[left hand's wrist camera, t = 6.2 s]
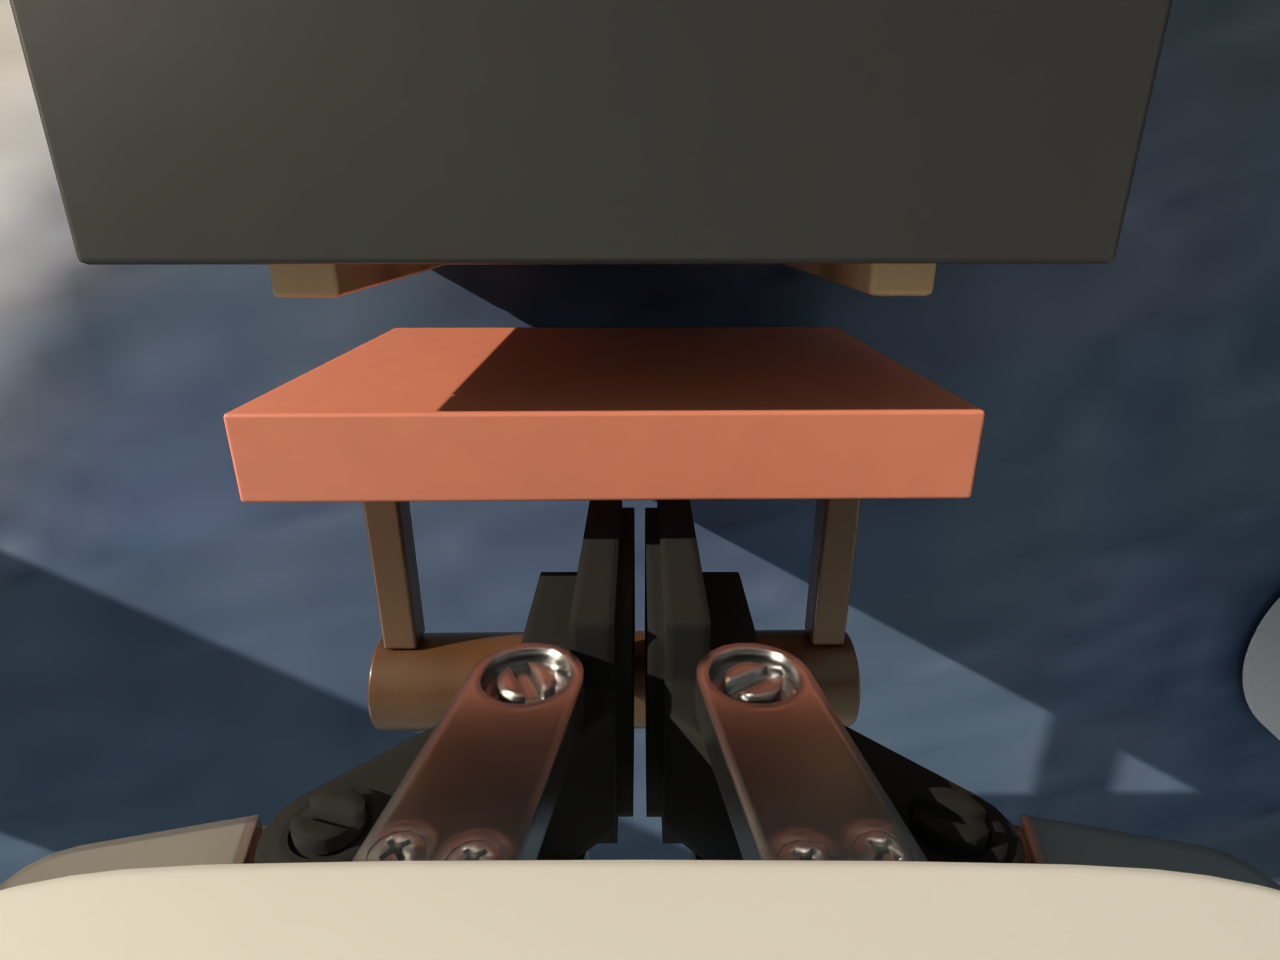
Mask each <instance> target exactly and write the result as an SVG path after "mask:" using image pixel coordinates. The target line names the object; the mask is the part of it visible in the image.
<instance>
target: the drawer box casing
mask: <svg viewBox="0 0 1280 960" xmlns="http://www.w3.org/2000/svg"><path fill="white" fill-rule="evenodd" d="M1171 3H1172V0H10V4H11V8H12V12H13V15H14V19H15V23H16V27H17V30H18V34H19V38H20V42H21V46H22V49H23V53H24V57H25V61H26V64H27V68H28V72H29V76H30V80H31V83H32V87H33V91H34V95H35V98H36V102H37V106H38V110H39V113H40V117H41V121H42V125H43V129H44V132H45V136H46V140H47V144H48V147H49V151H50V155H51V159H52V163H53V166H54V170H55V174H56V178H57V181H58V185H59V189H60V193H61V197H62V200H63V204H64V208H65V212H66V215H67V219H68V223H69V227H70V231H71V234H72V238H73V242H74V246H75V249H76V253H77V257H78V259H79V260H80V262H83V263H86V264H903V263H1107V262H1110V261H1112V260H1113V259H1114V257H1115V254H1116V250H1117V245H1118V241H1119V236H1120V232H1121V227H1122V223H1123V218H1124V214H1125V209H1126V205H1127V200H1128V196H1129V191H1130V187H1131V183H1132V178H1133V174H1134V169H1135V165H1136V160H1137V156H1138V151H1139V147H1140V142H1141V138H1142V133H1143V129H1144V124H1145V120H1146V115H1147V111H1148V106H1149V102H1150V97H1151V93H1152V89H1153V84H1154V80H1155V75H1156V71H1157V66H1158V62H1159V57H1160V53H1161V48H1162V44H1163V39H1164V35H1165V30H1166V26H1167V21H1168V17H1169V12H1170V8H1171Z"/></svg>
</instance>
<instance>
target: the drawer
mask: <svg viewBox="0 0 1280 960" xmlns="http://www.w3.org/2000/svg"><path fill="white" fill-rule="evenodd" d="M936 264H937V263H903V264H784V265H786V266H789V267H792V268H795V269H798V270H801V271H804V272H806V273H809V274H812V275H815V276H818V277H821V278H824V279H826V280H829V281H832V282H835V283H838V284H841V285H844V286H847V287H849V288H852V289H855V290H858V291H861V292H864V293H867V294H869V295H872V296H926V295H929V294H931V292H932V290H933V285H934V278H935V271H936ZM444 265H494V264H269V270H270V276H271V281H272V287H273V293H274V295H275V296H276V297H279V298H337V297H340V296H343V295H347V294H350V293H353V292H357V291H360V290H363V289H367V288H370V287H373V286H377V285H380V284H383V283H387V282H390V281H393V280H397V279H400V278H403V277H407V276H410V275H414V274H417V273H420V272H424V271H427V270H430V269H434V268H437V267H440V266H444ZM984 417H985V412H984V411H983V410H981V409H980V408H978V407H976V406H974V405H972V404H971V403H969V402H967V401H965V400H964V399H962V398H960V397H958V396H956V395H955V394H953V393H951V392H949V391H948V390H946V389H944V388H942V387H941V386H939V385H937V384H935V383H933V382H932V381H930V380H928V379H926V378H925V377H923V376H921V375H919V374H918V373H916V372H914V371H912V370H910V369H909V368H907V367H905V366H903V365H902V364H900V363H898V362H896V361H895V360H893V359H891V358H889V357H887V356H886V355H884V354H882V353H880V352H879V351H877V350H875V349H873V348H871V347H870V346H868V345H866V344H864V343H863V342H861V341H859V340H857V339H856V338H854V337H852V336H850V335H848V334H847V333H845V332H843V331H841V330H840V329H838V328H836V327H605V328H394V329H392V330H390V331H388V332H386V333H384V334H382V335H380V336H379V337H377V338H375V339H373V340H371V341H369V342H367V343H365V344H363V345H361V346H359V347H357V348H355V349H353V350H351V351H349V352H347V353H345V354H343V355H341V356H339V357H337V358H335V359H333V360H331V361H329V362H327V363H325V364H323V365H321V366H319V367H317V368H315V369H313V370H311V371H309V372H307V373H305V374H303V375H301V376H299V377H297V378H295V379H293V380H291V381H289V382H287V383H285V384H284V385H282V386H280V387H278V388H276V389H274V390H272V391H270V392H268V393H266V394H264V395H262V396H260V397H258V398H256V399H254V400H252V401H250V402H248V403H246V404H244V405H242V406H240V407H238V408H236V409H234V410H232V411H230V412H228V413H226V414H225V415H224V422H225V426H226V431H227V436H228V440H229V445H230V450H231V455H232V459H233V464H234V469H235V473H236V478H237V483H238V488H239V492H240V497H241V500H242V502H363V507H364V514H365V520H366V527H367V534H368V541H369V547H370V554H371V561H372V568H373V575H374V581H375V588H376V595H377V602H378V608H379V615H380V622H381V629H382V635H383V637H382V638H381V639H380V641H379V642H378V644H377V646H376V649H375V651H374V654H373V658H372V661H371V666H370V671H369V678H368V708H369V714H370V718H371V721H372V724H373V726H374V727H375V728H376V729H377V730H380V731H426V730H428V729H430V728H432V727H433V726H435V725H437V723H438V722H439V720H440V719H441V717H442V715H443V714H444V712H445V711H446V709H447V707H448V706H449V704H450V703H451V701H452V699H453V698H454V696H455V694H456V693H457V691H458V690H459V688H460V686H461V685H462V683H463V682H464V680H465V678H466V677H467V675H468V674H469V672H470V670H471V669H472V668H473V667H474V666H475V665H476V664H477V662H478V661H479V660H480V659H482V658H484V657H485V656H487V655H488V654H490V653H491V652H493V651H496V650H499V649H501V648H504V647H507V646H511V645H516V644H521V642H522V639H523V635H524V632H485V633H424V631H425V628H424V619H423V611H422V603H421V595H420V587H419V579H418V571H417V562H416V554H415V546H414V538H413V530H412V522H411V514H410V506H409V501H547V500H717V499H817V504H816V515H815V525H814V536H813V547H812V557H811V568H810V579H809V589H808V600H807V611H806V621H805V629H806V630H755V633H756V636H757V640H758V643H759V644H764V645H769V646H773V647H776V648H779V649H781V650H784V651H787V652H789V653H790V654H792V655H793V656H795V657H796V658H798V659H800V660H801V661H802V662H803V664H804V665H805V666H806V667H807V668H808V669H809V670H810V672H811V674H812V675H813V677H814V678H815V680H816V682H817V683H818V685H819V686H820V688H821V690H822V691H823V693H824V694H825V696H826V698H827V699H828V701H829V703H830V704H831V706H832V707H833V709H834V711H835V712H836V714H837V715H838V717H839V719H840V720H841V722H842V723H843V725H844V726H850V725H852V724H853V723H854V722H855V720H856V718H857V714H858V710H859V703H860V677H859V668H858V662H857V657H856V653H855V650H854V647H853V644H852V641H851V639H850V637H849V635H848V634H847V633H846V632H845V629H846V620H847V612H848V603H849V595H850V586H851V578H852V569H853V560H854V552H855V543H856V535H857V526H858V518H859V509H860V501H861V499H888V498H969V497H970V496H971V492H972V486H973V480H974V475H975V469H976V463H977V457H978V452H979V446H980V440H981V435H982V429H983V423H984ZM634 728H646V715H645V631H635V686H634Z"/></svg>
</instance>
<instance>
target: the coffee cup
mask: <svg viewBox="0 0 1280 960" xmlns="http://www.w3.org/2000/svg"><path fill="white" fill-rule="evenodd" d="M1243 689H1244V694H1245V698H1246V701H1247V703H1248V706H1249V708H1250V709H1251V711H1252V713H1253V714H1254V715H1255V717H1256V718H1257V719H1258V720H1259V721H1260V722H1261V724H1263V725H1264V726H1265V727H1266V728H1267V729H1268V730H1269V731H1270V732H1271V733H1272V734H1273V735H1274V736H1275V737H1277V738H1278V739H1279V740H1280V598H1279V599H1278V600H1277V601H1276V602H1275V603H1274V605H1273V606H1272V607H1271V608H1270V609H1269V611H1268V612H1267V613H1266V615H1265V616H1264V618H1263V619H1262V621H1261V622H1260V624H1259V626H1258V627H1257V629H1256V631H1255V633H1254V635H1253V637H1252V639H1251V641H1250V644H1249V646H1248V649H1247V652H1246V656H1245V660H1244V666H1243Z"/></svg>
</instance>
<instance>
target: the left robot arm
mask: <svg viewBox="0 0 1280 960" xmlns="http://www.w3.org/2000/svg"><path fill="white" fill-rule="evenodd" d="M634 686H635V551H634V508H622V500H590V503H589V509H588V515H587V521H586V526H585V532H584V538H583V544H582V550H581V555H580V561H579V567H578V572H541V575H540V577H539V581H538V584H537V588H536V592H535V595H534V599H533V603H532V606H531V610H530V613H529V617H528V621H527V624H526V628H525V632H524V635H523V639H522V642H521V644H516V645H511V646H507V647H504V648H501V649H499V650H496V651H493V652H491V653H490V654H488V655H487V656H485V657H484V658H482V659H480V660H479V661H478V662H477V664H476V665H475V666H474V667H473V668H472V669H471V670H470V672H469V674H468V675H467V677H466V678H465V680H464V682H463V683H462V685H461V686H460V688H459V690H458V691H457V693H456V694H455V696H454V698H453V699H452V701H451V703H450V704H449V706H448V707H447V709H446V711H445V712H444V714H443V715H442V717H441V719H440V720H439V722H438V723H437V725H435V726H433V727H432V728H430V729H428V730H426V731H424V732H422V733H420V734H418V735H416V736H415V737H413V738H411V739H409V740H407V741H405V742H403V743H401V744H399V745H397V746H396V747H394V748H392V749H390V750H388V751H386V752H384V753H382V754H380V755H378V756H377V757H375V758H373V759H371V760H369V761H367V762H365V763H363V764H361V765H360V766H358V767H356V768H354V769H352V770H350V771H348V772H346V773H344V774H342V775H341V776H339V777H337V778H335V779H333V780H331V781H329V782H327V783H325V784H324V785H322V786H320V787H318V788H316V789H314V790H312V791H310V792H308V793H306V794H305V795H303V796H301V797H300V798H298V799H297V800H295V801H294V802H292V803H291V804H289V805H288V806H286V807H285V808H284V809H283V810H282V811H280V812H279V813H278V814H277V815H276V816H275V817H274V818H273V819H272V820H271V821H270V822H269V823H268V825H263V826H261V822H260V818H259V814H258V815H252V816H246V817H240V818H235V819H229V820H223V821H217V822H212V823H206V824H200V825H194V826H189V827H183V828H177V829H171V830H166V831H160V832H154V833H149V834H143V835H137V836H131V837H126V838H120V839H114V840H108V841H103V842H97V843H91V844H85V845H80V846H76V847H73V848H69V849H66V850H62V851H59V852H56V853H52V854H50V855H48V856H46V857H44V858H42V859H40V860H38V861H36V862H34V863H32V864H30V865H28V866H26V867H24V868H23V869H22V870H20V871H19V872H18V873H16V874H15V875H13V876H12V877H11V878H9V879H8V880H7V881H5V882H4V883H3V884H1V885H0V960H1280V885H1279V884H1277V883H1276V882H1275V881H1273V880H1272V879H1270V878H1269V877H1268V876H1266V875H1265V874H1264V873H1262V872H1261V871H1260V870H1258V869H1257V868H1255V867H1254V866H1252V865H1250V864H1248V863H1246V862H1244V861H1242V860H1239V859H1237V858H1235V857H1233V856H1231V855H1229V854H1227V853H1224V852H1221V851H1217V850H1214V849H1211V848H1207V847H1204V846H1200V845H1195V844H1189V843H1183V842H1177V841H1172V840H1166V839H1160V838H1154V837H1149V836H1143V835H1137V834H1131V833H1126V832H1120V831H1114V830H1108V829H1103V828H1097V827H1091V826H1085V825H1080V824H1074V823H1068V822H1062V821H1057V820H1051V819H1045V818H1039V817H1034V816H1028V815H1022V814H1021V817H1020V821H1019V825H1018V826H1016V825H1012V824H1011V823H1010V822H1009V821H1008V820H1007V819H1006V818H1005V817H1004V816H1003V815H1002V814H1001V813H1000V812H999V811H998V810H997V809H996V808H995V807H994V806H992V805H991V804H989V803H988V802H986V801H984V800H983V799H981V798H980V797H978V796H977V795H975V794H973V793H971V792H969V791H968V790H966V789H964V788H962V787H960V786H958V785H956V784H954V783H952V782H950V781H949V780H947V779H945V778H943V777H941V776H939V775H937V774H935V773H933V772H932V771H930V770H928V769H926V768H924V767H922V766H920V765H918V764H916V763H914V762H913V761H911V760H909V759H907V758H905V757H903V756H901V755H899V754H897V753H896V752H894V751H892V750H890V749H888V748H886V747H884V746H882V745H880V744H878V743H877V742H875V741H873V740H871V739H869V738H867V737H865V736H863V735H861V734H859V733H858V732H856V731H854V730H852V729H850V728H848V727H846V726H844V725H843V723H842V722H841V720H840V719H839V717H838V715H837V714H836V712H835V711H834V709H833V707H832V706H831V704H830V703H829V701H828V699H827V698H826V696H825V694H824V693H823V691H822V690H821V688H820V686H819V685H818V683H817V682H816V680H815V678H814V677H813V675H812V674H811V672H810V670H809V669H808V668H807V667H806V666H805V665H804V664H803V662H802V661H801V660H800V659H798V658H796V657H795V656H793V655H792V654H790V653H789V652H787V651H784V650H781V649H779V648H776V647H773V646H769V645H764V644H759V643H758V640H757V636H756V633H755V629H754V625H753V622H752V618H751V615H750V611H749V607H748V604H747V600H746V596H745V593H744V589H743V586H742V582H741V578H740V575H739V573H738V572H702V569H701V563H700V557H699V551H698V546H697V540H696V534H695V528H694V523H693V517H692V511H691V505H690V500H658V505H657V508H645V715H646V805H647V817H662V839H663V843H683V844H684V845H685V846H687V847H688V848H689V849H690V850H691V852H690V860H590V852H589V849H590V848H592V847H593V846H594V845H596V844H597V843H617V832H618V817H633V779H634Z"/></svg>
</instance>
